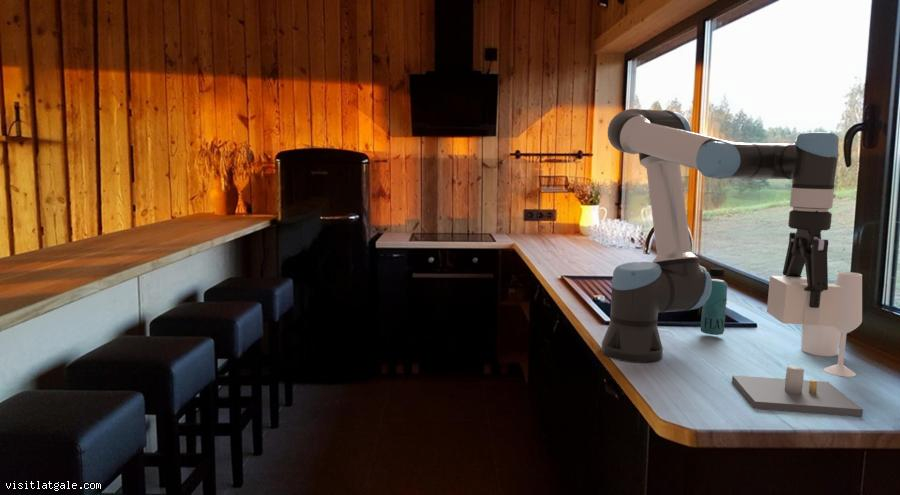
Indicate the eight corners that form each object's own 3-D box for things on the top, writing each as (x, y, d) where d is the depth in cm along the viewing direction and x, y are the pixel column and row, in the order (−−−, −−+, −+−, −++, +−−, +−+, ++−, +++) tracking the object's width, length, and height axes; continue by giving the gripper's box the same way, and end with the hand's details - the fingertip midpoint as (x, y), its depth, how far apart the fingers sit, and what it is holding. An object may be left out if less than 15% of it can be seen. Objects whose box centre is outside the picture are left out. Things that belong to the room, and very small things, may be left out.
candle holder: (846, 359, 161) (851, 313, 160) (805, 355, 163) (809, 310, 162) (831, 348, 171) (836, 305, 169) (792, 345, 173) (796, 302, 171)
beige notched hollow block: (782, 323, 127) (786, 284, 125) (766, 311, 136) (770, 275, 135) (836, 326, 125) (840, 286, 124) (816, 314, 135) (820, 278, 134)
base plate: (754, 408, 127) (757, 377, 126) (731, 381, 142) (734, 354, 141) (862, 416, 124) (865, 384, 123) (827, 388, 139) (830, 360, 138)
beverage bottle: (699, 338, 178) (704, 268, 175) (699, 332, 184) (704, 265, 181) (724, 341, 175) (730, 270, 173) (723, 335, 182) (729, 267, 179)
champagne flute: (843, 378, 146) (854, 276, 143) (817, 369, 152) (826, 271, 149) (862, 374, 149) (873, 275, 146) (835, 366, 155) (845, 270, 152)
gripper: (856, 214, 116) (844, 331, 119) (808, 206, 138) (799, 305, 141) (812, 213, 117) (801, 329, 120) (772, 205, 139) (763, 303, 142)
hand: (800, 316), depth 131 cm, fingers closed on beige notched hollow block, 10 cm apart
